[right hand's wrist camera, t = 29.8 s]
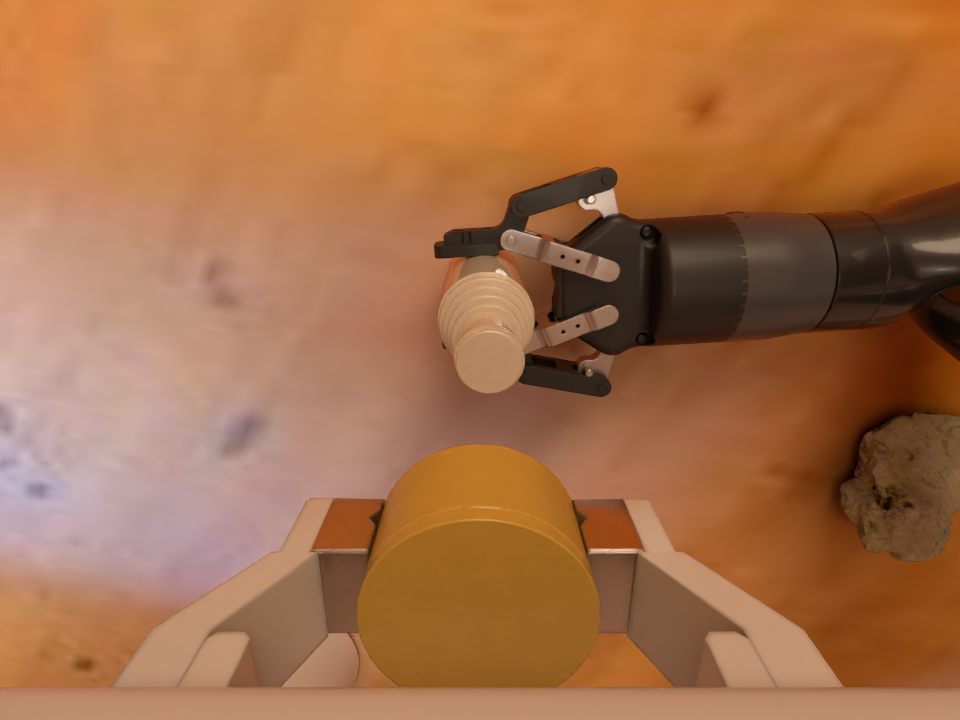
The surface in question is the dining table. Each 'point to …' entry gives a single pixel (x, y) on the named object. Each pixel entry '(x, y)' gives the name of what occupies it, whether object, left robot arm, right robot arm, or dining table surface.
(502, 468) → the cap
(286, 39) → the dining table surface
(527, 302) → the bottle
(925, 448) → the rock
